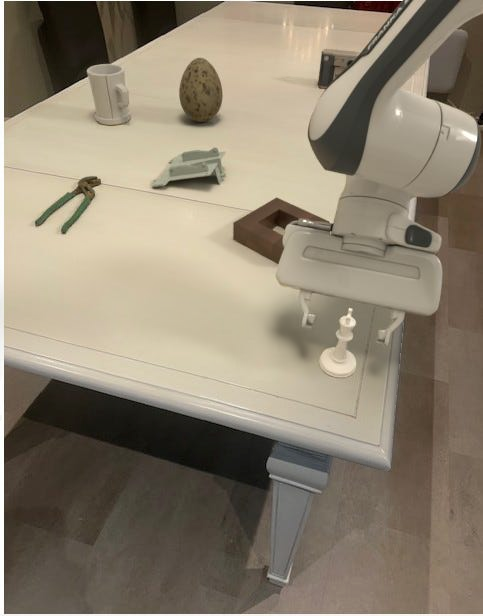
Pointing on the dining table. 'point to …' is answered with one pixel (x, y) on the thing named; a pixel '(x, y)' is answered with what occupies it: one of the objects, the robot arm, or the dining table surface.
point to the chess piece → (340, 351)
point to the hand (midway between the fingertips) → (343, 336)
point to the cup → (109, 93)
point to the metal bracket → (193, 166)
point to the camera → (334, 64)
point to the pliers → (82, 187)
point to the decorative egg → (200, 91)
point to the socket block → (269, 227)
